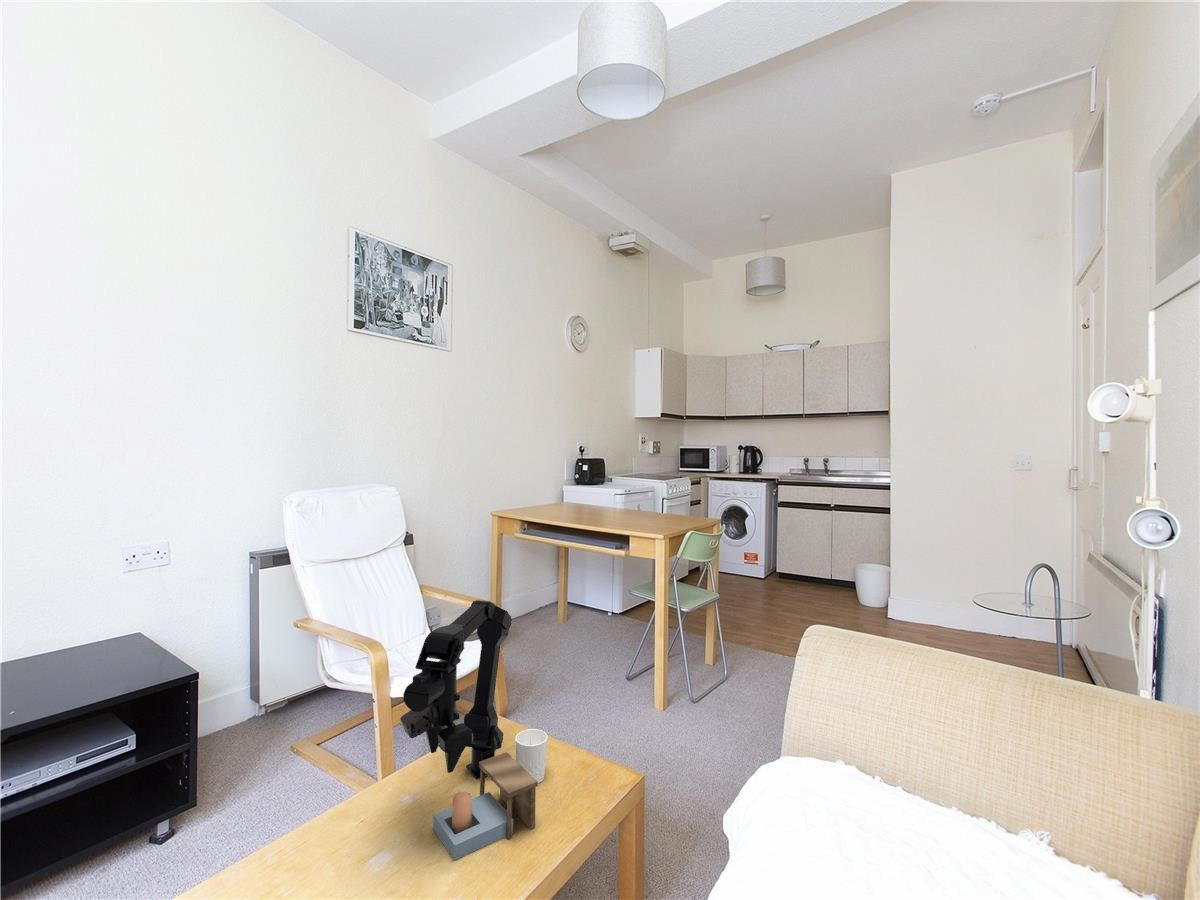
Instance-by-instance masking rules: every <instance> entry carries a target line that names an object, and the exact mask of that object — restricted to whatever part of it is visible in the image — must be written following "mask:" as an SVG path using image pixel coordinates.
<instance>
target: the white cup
mask: <svg viewBox="0 0 1200 900" xmlns="http://www.w3.org/2000/svg"><path fill="white" fill-rule="evenodd" d="M514 739H515V760H516V761H517V762H518V763H519V764H520V765H521V766H522V767H523V768H524V769H525V770H526V771H527V772H528V773H529V774H530V775H532V776H533V777H534V778H535V779H536V780H537V781H538V784H541V783H542V781H543V780H544V779H545V775H546V764H547V756H548V755H547V752H548V734H547V732H545V731H544V730H541V729H537V728H527V729H524V730H522V731H520V732H518V733H517V734H516V735H515V738H514Z"/></svg>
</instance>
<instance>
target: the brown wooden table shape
mask: <svg viewBox="0 0 1200 900" xmlns="http://www.w3.org/2000/svg"><path fill="white" fill-rule="evenodd" d="M479 767H480V778H479V779H480V780H479V787H480V788H479V796H480V795H483V794H485V787H486V786H485V781H486V779H485V778H486V777H488V778H489V779H490V780H491V781H492V783H494V784H495V786H496V787H497V788H498V789H499V796H500V798H502V800H503V801H504V802H505V803H506V811H507V832H506V838H505V839H507V840H510V839H512V834H511V823H512V818H513V817H512V816H513V815H512V814H513V811H514V813H515V814H516V815H517V817H519V818H520V820H522V822H523V823H524V824H525V825H526V827H528V829H529V830H533V829H535V828H536V795H537V794H536V791H537V789H536V787H538V785H539V783H538V781H537V780H536V779H535V778H534V777H533V776H532V775H530V774H529V773H528V772H527V771H526V770H525V769H524V768H523V767H522V766H521V765H520V764H519V763H518V762H517V761H516V759H515V758H513V757H512V756H511V755H510V754H509V753H508V752H507V751H506V752H502V753H500V754H496V755H495V756H494V757H491V758H489V759H486V760H483V761H481V762H479ZM485 774H486V775H487V776H485Z"/></svg>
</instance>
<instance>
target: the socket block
mask: <svg viewBox="0 0 1200 900" xmlns="http://www.w3.org/2000/svg"><path fill="white" fill-rule="evenodd" d="M432 819H433V821H432V822H433V824H432V825H433V831H434V832H435V834H436V835H437V837H438V838H439V840H440V841H441V843H442V844H443V846H444V847H445V849H446V850H447V852H448V853H449V855H450V856H451V858H452V859H453V861H457V860H460V859H462V858H463V857H466V856H468V855H469V854H471V853H474V852H476V851H478V850H480V849H482V848H484V847H487V846H488V845H491V844H492V843H495V842H497V841H499V840H501V839H503V838H505V837H506V832H507V809H505V807H503V806H502V804H501V803H500V802H499V801H498V800H497V799H496V798H495V796H494V795H493V794H492V793H491V792H490V791H488V792H486V793H485V792H484V794H483V795H480V794H479V795H478V796H475V797H472V827H471V828H469V829H467V830H464V831H462V832H460V833H458V834H454V833H453V832H452V806H451V807H448V808H446V809H444V810H441V811H439V812H436V813H434V814H433V817H432ZM513 833H514V818H513V817H512V823H511V835H512V834H513Z"/></svg>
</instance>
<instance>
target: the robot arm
mask: <svg viewBox="0 0 1200 900" xmlns="http://www.w3.org/2000/svg"><path fill="white" fill-rule="evenodd" d="M512 620H513V619H512V615H510V614H509V611H507V610H505V609H503V608H501V607H500V606H497V605H496V604H495V603H494V602H492V601H490V600H479V599H477V600H474V601H472V602H471V605H470V606H469V607H468V608H467V609H466V610H465V611H464V612H462V613H461V614H460V615H459V616H458V617H456V619H455V620H453V622H451V623H450V624H449V625H444V626H443V625H442V626H439V627H437V628H436V629H433V630H431V631H430V632H429V633H428V635H427V636H426V637H425V639H424V641H423V644H422V646H421V647H422V648H421V649H420V653H419V656H418V659H417V661H416V664H415V670H421V672H419V673H417V674H415V675H414V676H412V682H411V683H409V684H408V685H407V686H406V687H405V688H404V691H403V694H402V697H403V701H404V704H405V706H406V707H407V708H408V710H409V711H407V712H406V713H404V714H403V715H401V717H400V718H399V719H400V722H401V725H402V727H403V730H404V731H405V733H406V734H407V736H408V737H409V738H410V739H414V738H416V737H418V736H421V735H422V734H423V733H425V735H426V740H427V743H428V747H429V750H430V753H431V754H435V753H436V752H437V751H438V748H439V749H440V750H441V751H442V752H443V753H444V757H445V764H446V765H445V766H446V772H447V773H448V774H450V773H451V774H452V773H453V772H454V770H455V768H456V767H457V764H458V762H459V760H460V758H461V756H462V754H463V752H464V750H465V749H466V747H467V748H471V763H468V764H466V765H465V768H466V769H467V770H468V772H469V773H470V774H471V775H472V776H473V778H474V779H476V780H479V779H480V767H479V762H481V761H483V760H486V759H489V758H491V757H494V756H496V755H495V754H496V753H495V752H496V751H497V750H499V749H500V750H501V748H502V747H503V745H502V743H503V741H504V732H503V731H502V730H501V729H500V728H499V726H498V725H499V724H498V722H499V717H498V716H499V715H498V714H497V712H496V709H495V707H494V702H495V701H494V700H495V693H496V692H495V691H496V684H497V676H498V668H499V661H500V652H501V646H502V644H503V643H504V641H505V640H506V639H507V638H508V635H509V632H510V628H511V626H512ZM475 631H476V635H477V636H478V640H479V642H480V644H481V648H480V656H479V662H478V669H477V676H476V677H477V678H476V684H475V692H474V698H473V706H472V707H471V708H470V710H469V711H468V712H467V713H466V714H465V715H464V717H463V722H460V723H458V724H455V722H454V721H457V720H460V713H459V712H458V711H457V702H458V701H460V696H461V695H460V694H459V692H457V675H458V674H457V670H458V669H457V668H458V666H457V665H459V664H460V663H461V661H462V659H461V658H460V657H461V655H462V653H463V652H464V650H465V641H466V640H467V639H468V638H469V637H470V636H471V635H472V634H473V633H474V632H475ZM428 659H430V660H428ZM432 659H435V660H438V661H434V660H432ZM485 777H488V776H487V775H486V774H485Z"/></svg>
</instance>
